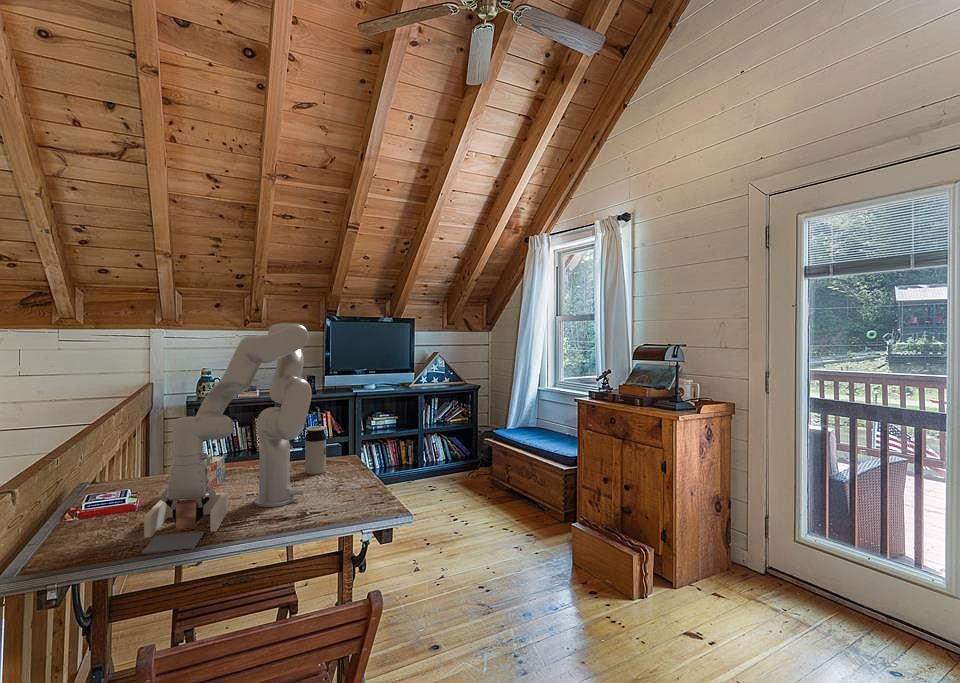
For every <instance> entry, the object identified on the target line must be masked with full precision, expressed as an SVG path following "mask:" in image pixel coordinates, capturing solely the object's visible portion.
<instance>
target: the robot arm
mask: <svg viewBox="0 0 960 683" xmlns="http://www.w3.org/2000/svg"><path fill="white" fill-rule="evenodd" d="M309 339H310V334H309V331H308V329H307V328H306V327H305V326H304V325H302V324H300V323H287V322H286V323H284V322H283V323H275V324H273V325H272V326H270V327H269V329H268V333H267V334H266V335H248V336H245V337H243V338H242V339H241V340H240V342H239V344H238V345H237V347H236V349H235V351H234V353H233V355H232V357H231V359H230V361H229V364H228V366H227V367H226V370H225V371H224V374H223V375H222V377H221V379H219V381H218V382H217V383H216V384H215V385H214V386H213V388H212V389H210V391H209V392H208V393H207V394H206V396H205V397H204V399H203V400H202V402H201V405H200V406H199V408H198V410H197V412H196V414H195V416H190V415H189V416H183V417H178V418H176V419H175V420H174V421H173V426H172V427H173V429H172V430H173V431H172V436H173V437H172V438H173V439H172V440H173V441H172V444H173V445H172V446H173V447H172V451H173V452H172V453H173V454H172V456H173V457H172V458H173V459H172V461H173V462H172V464H171V465H170V468H169V472H168V480H167V488H166V489H165V491H164V492H163V493H162V494H161V495H160V496H159V497H158V499H159V501H160V500H161V501H163V502H165V503H166V504H167V505H168V506H169V507H171V509H172V510H173V517H172V520H174V524H176V505H177V503H178V502H179V501H180V499H192V498H196V501H197V504H198V505H197V509H196V521H199V520H200V521H201V519H202V518H203V517H204V515H203V505H204V504H205V503H207V502H208V501H209V500H210V499H211V498H212V497H214V496H215V495H216V493H217V491H216V490H215V489H213V488H211V486H210V485H209V477H208V469H207V464H206V462H205V461H203V460H205V459H208V455H209V454H206V453H205V452H204V441H217V440H219V441H220V440H224V439H226V438H228V437H230V435H232V433H233V432H234V429H235V423H234V421H233V419H232V418H231V417H229V416H228V415H225V414H224V412H225V410H226V409H227V406H228V405H229V404H230V403H231V402H232V401H233V400H234V399H235V398H236V397H238V396H239V395H241V394H243V393H244V392H246V391H247V390H249V389H250V388H251V386H252V385H253V382H254V380H255V377H256V375H257V373H258V371H259V369H260V367H261V365H262V364H267V363H268V364H269V363H272V362H274V361H275V362H276V361H277V362H276V367H275V371H274V375H273V377H272V378H273V379H272V381H271V385H270V389H269V397H270V399H271V400H272V401H273V402H275V403H277V404H281V406H280V407H279V406H278V407H277V406H274V407H272V406H270V407H267V408H265V409H263V410H262V411H261V412H260V413H259V414H258V416H257V420H256V429H257V436H258V443H259V452H258V454H259V455H258V456H259V457H258V458H259V460H258V461H259V463H258V464H259V468H258V472H259V473H258V475H259V479H258V495H257V496H255V498H254V499H253V504H254V505H255V506H257V507H260V508H276V507H282V506H286V505H287V504H288V505H289V504H290V503H292V502H293V501H295V496H302V495H304V488H301V487H292V484H291V479H290V478H291V475H290V474H291V469H290V463H291V447H290V445H291V444H290V441H292V440H294V439H296V438H298V437H299V436H300V434H301V433H302V432H303V429H304V428H305V425H306V421H307V418H308V414H309V410H310V405H311V401H312V396H313V391H312V388H311V384H310V383H309V382H308V381H307V380H306V379H305V378H304V379H303V378H302V374H303V369H304V366H305V363H304V362H305V357H304V353H303V350H302V349H303V348H304V347H305V346H306V345H307V344H308V343H309V342H308V341H309ZM206 494H209V495H208V496H206V497H205V498H203V497H204V496H205V495H206ZM200 521H199V522H200Z"/></svg>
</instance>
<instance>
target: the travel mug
mask: <svg viewBox="0 0 960 683" xmlns="http://www.w3.org/2000/svg"><path fill="white" fill-rule="evenodd" d="M326 429H327V428H326V426H322V425H313V426H308V427H306V429H305V430H306V434H305V436H304V437H305V440H304V442H305V447H304V448H305V451H304V452H305V455H304V456H305V459H304V461H305V462H304V465H305V466H304V468H305V469H304V472H305V473H306V474H308V475H320V474H322V473H325V472H326V470H327V433H326V432H325V430H326ZM319 473H320V474H319Z"/></svg>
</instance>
